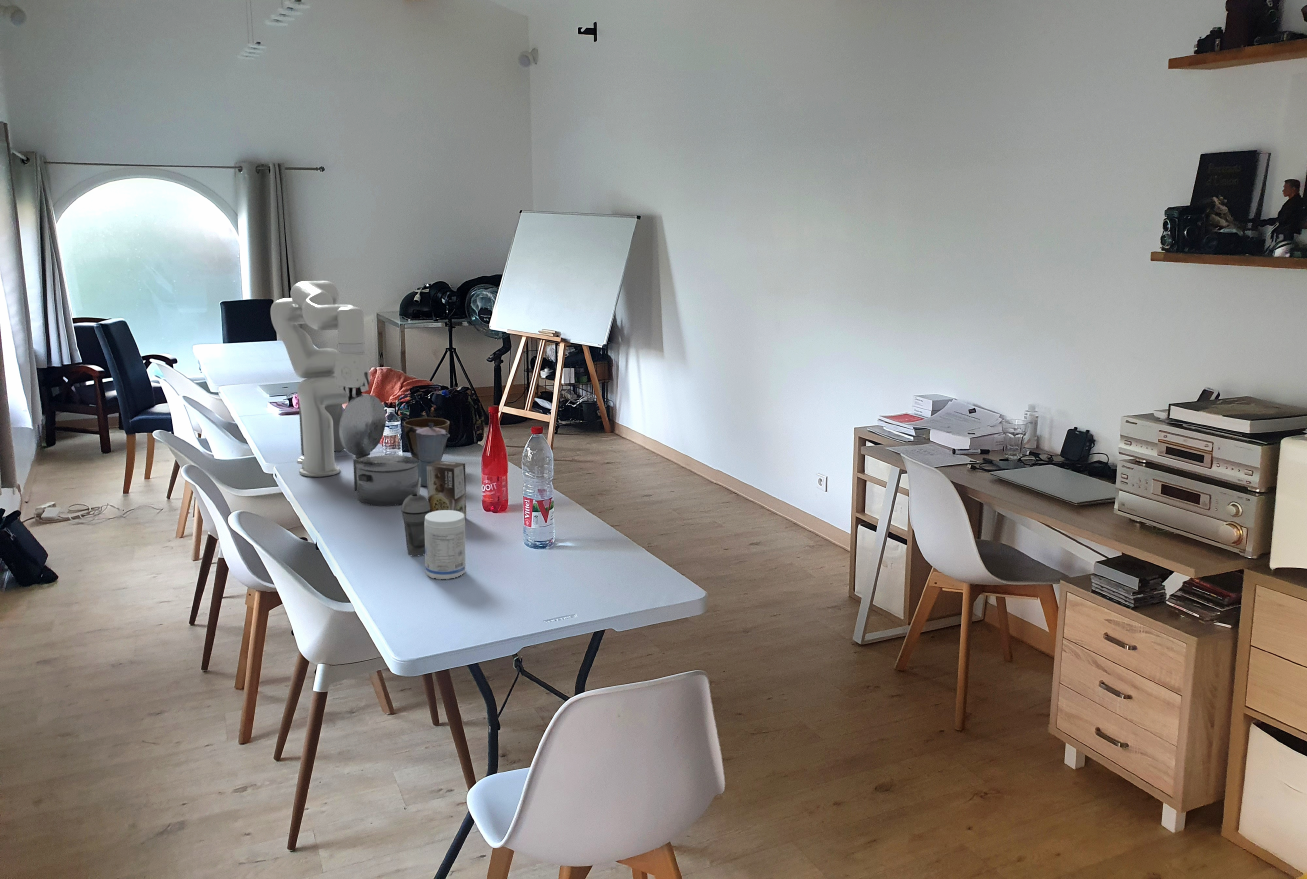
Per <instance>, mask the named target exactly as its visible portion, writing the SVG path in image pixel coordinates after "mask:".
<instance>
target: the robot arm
mask: <svg viewBox="0 0 1307 879" xmlns="http://www.w3.org/2000/svg"><path fill="white" fill-rule="evenodd" d="M339 298H340V294H339V290H338V288H337V286H336V284H334V282H331V281H329V280H305V281H304V280H303V281H299V282H297V283H295V284H294V285H293V286H292V287H291V290H290V297H289V298H287V297H286V298H280V299H278V300H275V301H274V302H273V303H272V304H271V307H270V318H271V324H272V326H273V328H274V330H275V332H276V333H277V335H278V337H279V338H280V340H281V341H282V343H283V345H284V347H285V349H286V352H287V355H288V358H289V361H290V364H291V366H292V368H293V371H294V373H295V374H296V376H297V377H298V378H300V379H303V380H301V381H300V382H299V383H298V385H297V388H296V391H297V392H296V393H297V397H298V402H299V405H300V407H301V415H302V428H303V447H304V455H303V456H300V457H299V458H298V459H297V461H296V463H297V464H299V465H302V466H301V468H300V469H299V474H300V475H302V476H304V477H311V478H312V477H313V478H317V477H318V478H320V477H329V476H333V475H334V476H335V475H337V474H339V473H341V468H340V467H339V466H338V465H336V463H335V462H336V461H335V460H336V459H335V452H334V435H333V420H332V417H331V415H330V414H329V413H328V412H327V411H326V410H325V408H324V407H325V406H330V405H340V404H342V405H345V404H346V405H347V404H348V403H349V402H350V401H351V400H352V399H353V398H354V397H356V396H358V395H361V394H364V393H363V392H368V391H370V390H369V385H370V382H371V375H370V374H371V373H370V365H369V359H368V356H367V353H366V344H365V340H366V339H365V319H364V317H365V316H364V314H365V313H364V310H363V309H362V308H361V307H358V306H354V305H352V304H346V303H345V304H338V303H339V301H340V300H339ZM299 324H301V325H303V324H304V325H305V324H306V325H307V326H308V327H310V328H312V329H313V330H316V331H333V330H334V331H335V330H337V338H338V340H337V341H338V344H336V347H337V348H338V350H337V349H335V348H331V347H330V348H329V347H328V348H327V347H326V348H316V347H315V345H314V343H313V341H312V338H311V336H310V335H309V334H308V332H306V330H304V329H303V328H301V327H299V326H298V325H299Z"/></svg>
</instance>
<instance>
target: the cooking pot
mask: <svg viewBox="0 0 1307 879" xmlns="http://www.w3.org/2000/svg"><path fill="white" fill-rule="evenodd" d="M352 460H353V483H354V492H357V494H356V495H357V501H358V503H361V504H362V505H367V506H373V507H391V506H392V507H393V506H394V507H395V506H402V505H403V502H404V500H405V499H406V498H407V497H408V496H410V495H412V494H418V484H419V476H418V464H419V461H418V460H417V459H416V458H413V457H412V456H408V455H401V454H400V455H398V454H387V455H385V454H383V455H373V456H366V457H363V458H359V459H356V458H353V459H352Z"/></svg>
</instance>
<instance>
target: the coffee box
mask: <svg viewBox="0 0 1307 879" xmlns="http://www.w3.org/2000/svg"><path fill="white" fill-rule="evenodd" d="M466 482H467V480H466V463H462V462H455V461H445V460H441V461H436V462H434V463H432V464H430V465H427V486H426V487H427V500H428V501H429V504H430V508H431V511H430V512H434V511H439V510H453V511H459V512H461V513H463V514H464V517H465V519H467V492H466V491H467V490H466V489H467V488H466V486H467V485H466Z"/></svg>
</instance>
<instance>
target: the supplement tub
mask: <svg viewBox="0 0 1307 879" xmlns="http://www.w3.org/2000/svg"><path fill="white" fill-rule="evenodd" d="M465 519H466V518H465V517H464V514H463V513H461V512H459V511H453V510H439V511H434V512H430V513H428V514H427V515H426V516H425V522H424V523H425V524H424V526H425V555H424V559H425V560H424V563H425V565H424V567H425V570H424V571H425V574H426V575H427V576H428V577H429V578H432V579H434V578H436V579H435V580H441V579H446V580H450V579H449V578H454V579H456V578H455V577H457V578H459V577H458V576H460V575H461V576H463V575H464V574H465V573H466V520H465ZM463 573H464V574H463ZM462 574H463V575H462ZM461 576H460V577H461Z"/></svg>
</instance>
